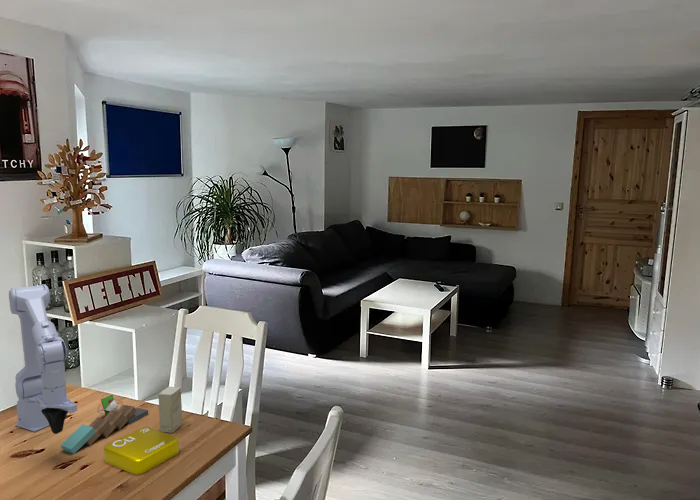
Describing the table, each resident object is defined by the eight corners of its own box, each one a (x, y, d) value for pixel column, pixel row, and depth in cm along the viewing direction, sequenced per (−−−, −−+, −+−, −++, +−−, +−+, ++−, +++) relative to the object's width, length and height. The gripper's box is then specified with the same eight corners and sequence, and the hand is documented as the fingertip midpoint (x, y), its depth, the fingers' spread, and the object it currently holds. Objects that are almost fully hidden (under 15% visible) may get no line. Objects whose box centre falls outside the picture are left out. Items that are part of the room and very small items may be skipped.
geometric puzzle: (89, 410, 179) (98, 394, 175) (108, 402, 185) (116, 386, 181) (102, 427, 177) (111, 411, 173) (120, 418, 183) (129, 403, 179)
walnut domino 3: (105, 422, 171) (122, 404, 178) (107, 427, 172) (124, 409, 179) (117, 424, 170) (134, 406, 176) (119, 429, 170) (136, 411, 177)
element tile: (138, 477, 146) (137, 460, 145) (101, 461, 153) (100, 445, 153) (182, 452, 159) (181, 436, 158) (146, 438, 166) (145, 423, 165)
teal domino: (60, 445, 157) (82, 424, 163) (63, 450, 158) (85, 428, 164) (71, 449, 155) (93, 427, 161) (74, 454, 156) (95, 432, 162)
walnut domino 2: (92, 429, 167) (112, 409, 173) (95, 434, 168) (114, 414, 174) (103, 433, 165) (122, 412, 171) (106, 437, 166) (125, 417, 172)
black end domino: (118, 417, 176) (137, 407, 183) (118, 423, 176) (137, 413, 183) (128, 420, 174) (148, 410, 181) (129, 426, 174) (148, 416, 181)
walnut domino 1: (76, 437, 162) (97, 417, 168) (79, 442, 163) (100, 421, 169) (87, 441, 160) (108, 420, 166) (89, 445, 161) (110, 425, 167)
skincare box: (172, 433, 169) (171, 395, 167) (159, 432, 170) (157, 393, 168) (183, 424, 175) (181, 387, 173) (170, 422, 176) (168, 385, 174)
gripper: (22, 385, 151) (26, 432, 153) (58, 395, 145) (62, 444, 147) (46, 376, 157) (50, 421, 160) (82, 385, 151) (85, 432, 153)
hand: (57, 432), depth 154 cm, fingers closed
